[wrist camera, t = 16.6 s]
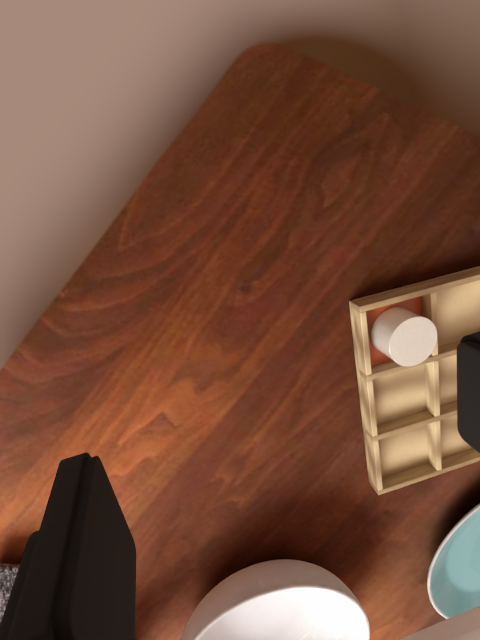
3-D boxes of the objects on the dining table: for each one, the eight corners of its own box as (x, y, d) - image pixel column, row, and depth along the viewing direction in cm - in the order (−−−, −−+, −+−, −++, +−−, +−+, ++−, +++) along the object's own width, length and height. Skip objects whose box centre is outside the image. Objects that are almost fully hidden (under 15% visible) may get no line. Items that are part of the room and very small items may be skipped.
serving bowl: (140, 653, 46) (138, 728, 40) (225, 510, 42) (238, 567, 36) (289, 674, 53) (308, 741, 46) (373, 552, 49) (407, 607, 43)
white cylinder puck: (368, 313, 38) (387, 324, 35) (414, 301, 39) (436, 310, 36) (372, 359, 40) (391, 372, 37) (416, 346, 40) (438, 358, 37)
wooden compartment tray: (348, 300, 38) (359, 306, 36) (547, 247, 41) (567, 250, 39) (368, 482, 45) (378, 495, 43) (535, 426, 48) (552, 436, 46)
